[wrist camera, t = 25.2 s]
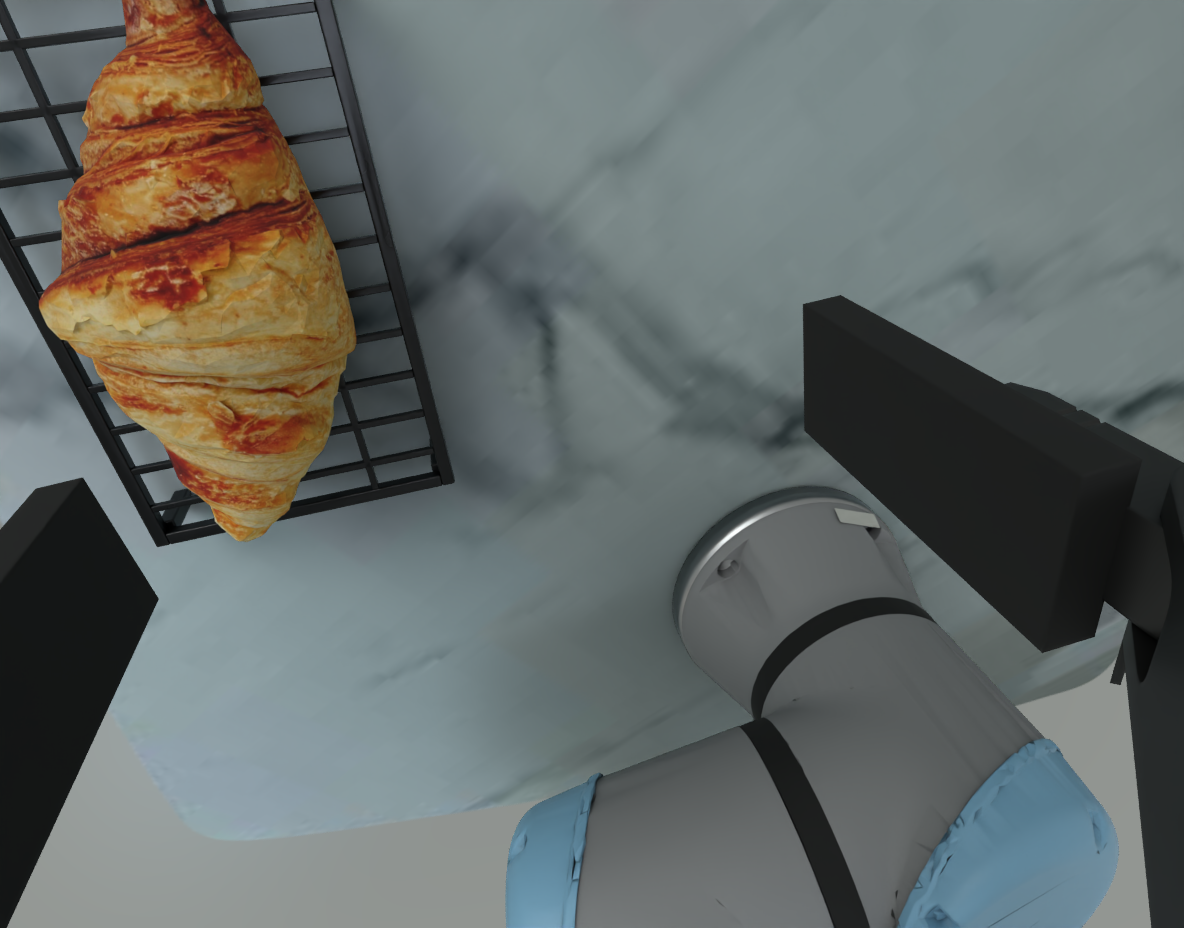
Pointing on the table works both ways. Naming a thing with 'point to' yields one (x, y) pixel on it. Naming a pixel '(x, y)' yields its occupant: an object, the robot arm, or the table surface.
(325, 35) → the cooling rack
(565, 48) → the table surface
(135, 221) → the croissant
